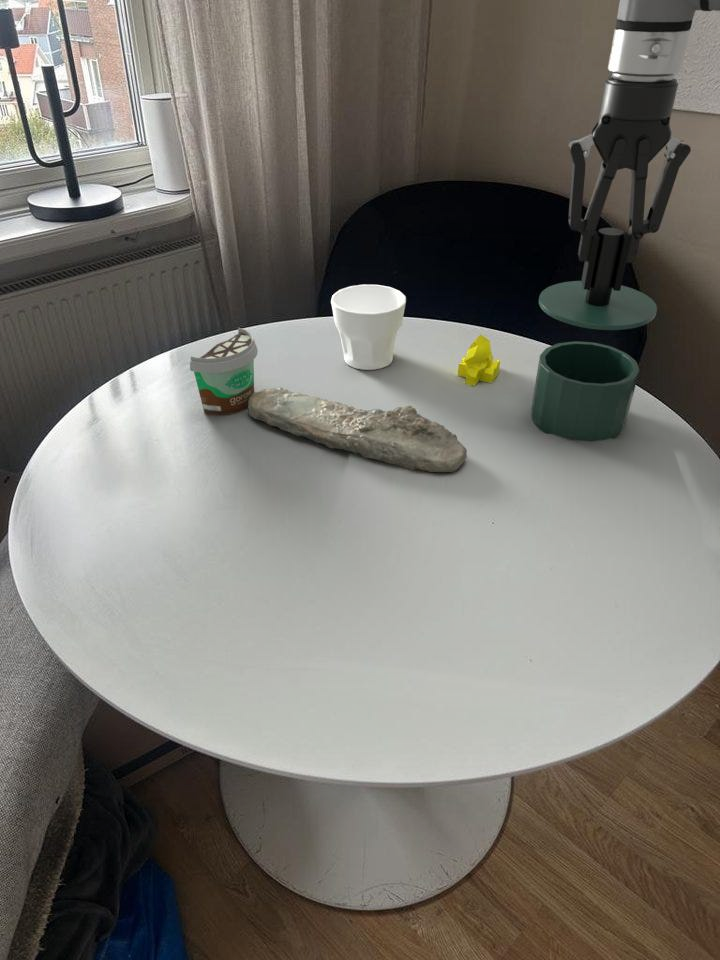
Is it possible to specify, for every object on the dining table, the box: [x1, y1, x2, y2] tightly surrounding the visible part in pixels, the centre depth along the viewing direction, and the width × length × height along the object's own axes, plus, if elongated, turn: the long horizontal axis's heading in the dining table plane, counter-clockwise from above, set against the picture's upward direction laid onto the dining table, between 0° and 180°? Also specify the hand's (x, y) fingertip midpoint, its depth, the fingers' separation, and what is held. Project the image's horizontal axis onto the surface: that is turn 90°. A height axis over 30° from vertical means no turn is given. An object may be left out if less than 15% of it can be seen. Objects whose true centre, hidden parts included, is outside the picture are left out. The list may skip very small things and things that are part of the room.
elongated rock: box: [248, 387, 468, 473], centre depth 102 cm, size 35×5×10 cm
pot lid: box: [538, 227, 658, 331], centre depth 89 cm, size 15×15×10 cm
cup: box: [330, 284, 407, 371], centre depth 119 cm, size 12×12×11 cm
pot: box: [530, 341, 640, 442], centre depth 104 cm, size 14×14×10 cm
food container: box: [189, 327, 259, 416], centre depth 108 cm, size 12×6×10 cm, turn 150°
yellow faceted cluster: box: [457, 333, 501, 387], centre depth 116 cm, size 6×8×8 cm
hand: (600, 285), depth 90 cm, fingers closed on pot lid, 3 cm apart
